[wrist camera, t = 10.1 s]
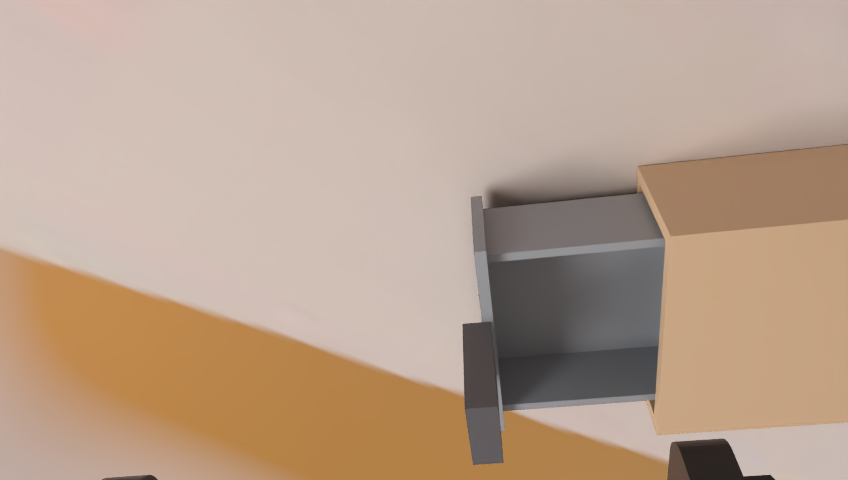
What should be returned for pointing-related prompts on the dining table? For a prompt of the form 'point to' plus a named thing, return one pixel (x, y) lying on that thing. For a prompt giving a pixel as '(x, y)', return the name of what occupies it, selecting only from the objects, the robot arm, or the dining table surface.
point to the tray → (561, 310)
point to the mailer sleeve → (752, 290)
